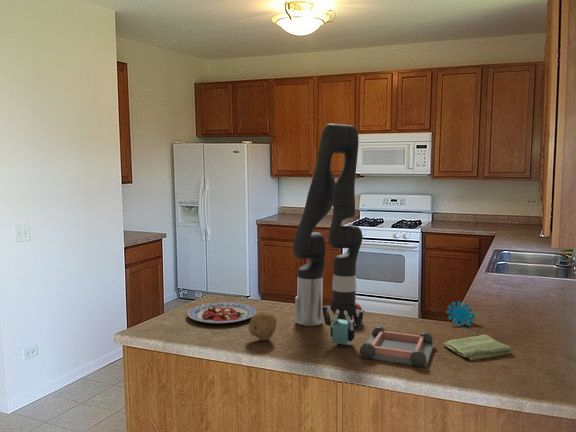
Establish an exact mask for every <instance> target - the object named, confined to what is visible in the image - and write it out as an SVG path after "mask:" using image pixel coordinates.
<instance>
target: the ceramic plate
mask: <svg viewBox="0 0 576 432" xmlns="http://www.w3.org/2000/svg"><path fill="white" fill-rule="evenodd" d="M256 313H257V310H256V308H255V307H253V306H252V305H250V304H247V303H246V304H245V303H242V302H241V303H240V302H229V301H222V302H210V303H204V304H200V305H197V306H194V307H192V308H191V309H189V310H188V311H187V316H188V317H189V318H190V319H192V320H194V321H197V322H199V323H200V322H201V323H207V324H216V325H217V324H218V325H222V324H223V325H224V324H231V323H232V324H234V323H237V322H241V321H245V320H247V319H248V320H249V319H250V318H251V319H252V317H253V316H254V315H255V314H256Z"/></svg>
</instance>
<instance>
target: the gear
mask: <svg viewBox="0 0 576 432" xmlns="http://www.w3.org/2000/svg"><path fill="white" fill-rule="evenodd" d="M456 304H457V305H456ZM462 304H463V302H461V301H457V302H455V301H452V302H451V304H449V305H448V306H447V310H446V314H447V315H449V316H448V320H449V321H450V320H452V323H453V324H454V325H457V323H458V322H460V323H459V324H458V326H460V327H464V326H466V327H469V326H470V324H471V323H473V322H474V319H475V318H477V316H478V313H477V312H475V313H472V312H473V309H472V307H469V305H468V304H467V303H464V304H463V306H461V305H462ZM467 307H469V308H467ZM464 322H465V325H464Z"/></svg>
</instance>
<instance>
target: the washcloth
mask: <svg viewBox="0 0 576 432" xmlns="http://www.w3.org/2000/svg"><path fill="white" fill-rule="evenodd" d="M442 346H443V347H445V348H446V347H447V348H446V349H448V348H449V350H450V349H451V350H450V351H452V352H453V353H455V354H457V355H458V356H461V357H463V358H465V359H467V358H468V359H467V360H469V361H474V360H475V361H477V360H481V359H482V358H484V359H488V358H494V357H495V356H496V357H500V356H507V355H509V354H511V353H512V348H511V347H510V346H508V345H507V344H504V343H502V342H501V341H500V342H499V341H497V340H495V339H494V337H491V336H489V335H488V334H480V335H477V336H469V337H464V338H463V337H462V338H456V339H450V340H449V339H448V341H446V342H445V341H444V343H443V344H442ZM476 359H477V360H476ZM482 360H483V359H482Z"/></svg>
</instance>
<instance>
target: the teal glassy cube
mask: <svg viewBox="0 0 576 432" xmlns="http://www.w3.org/2000/svg"><path fill="white" fill-rule="evenodd" d="M349 330H350V328H349V325H348V323H347V320H342V319H338V321H336V323H334V324H333V332H332V337H331V339H332V340H331V341H332V344H340V345H345V346H348V345H349V344H350V343H351V341H349Z"/></svg>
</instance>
